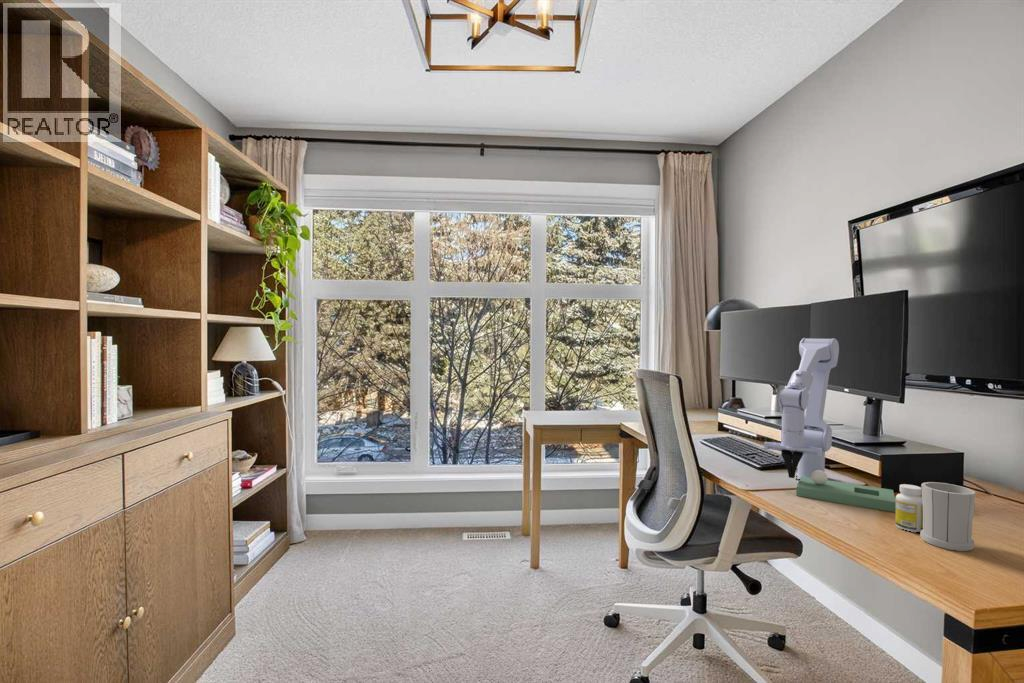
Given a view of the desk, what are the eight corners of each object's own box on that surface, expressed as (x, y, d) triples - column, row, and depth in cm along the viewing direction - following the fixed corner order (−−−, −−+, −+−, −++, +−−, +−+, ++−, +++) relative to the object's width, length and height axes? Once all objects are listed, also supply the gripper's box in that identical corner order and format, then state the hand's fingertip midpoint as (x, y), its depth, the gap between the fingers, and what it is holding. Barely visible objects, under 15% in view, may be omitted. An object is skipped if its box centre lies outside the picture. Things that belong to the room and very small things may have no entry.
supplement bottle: (914, 525, 119) (915, 483, 119) (930, 534, 114) (932, 490, 114) (889, 523, 120) (890, 482, 120) (905, 532, 114) (906, 489, 114)
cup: (920, 529, 116) (921, 477, 116) (973, 540, 111) (975, 485, 110) (919, 544, 108) (921, 488, 108) (977, 556, 102) (979, 497, 102)
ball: (811, 481, 146) (811, 467, 146) (827, 483, 143) (828, 469, 143) (810, 484, 142) (810, 470, 142) (827, 487, 140) (827, 472, 140)
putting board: (800, 484, 151) (800, 476, 151) (892, 498, 139) (893, 489, 139) (796, 495, 140) (796, 486, 140) (895, 512, 128) (896, 502, 128)
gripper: (762, 429, 147) (761, 475, 147) (821, 435, 139) (820, 484, 139) (766, 425, 153) (765, 470, 153) (822, 431, 145) (821, 478, 145)
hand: (791, 477), depth 147 cm, fingers closed
